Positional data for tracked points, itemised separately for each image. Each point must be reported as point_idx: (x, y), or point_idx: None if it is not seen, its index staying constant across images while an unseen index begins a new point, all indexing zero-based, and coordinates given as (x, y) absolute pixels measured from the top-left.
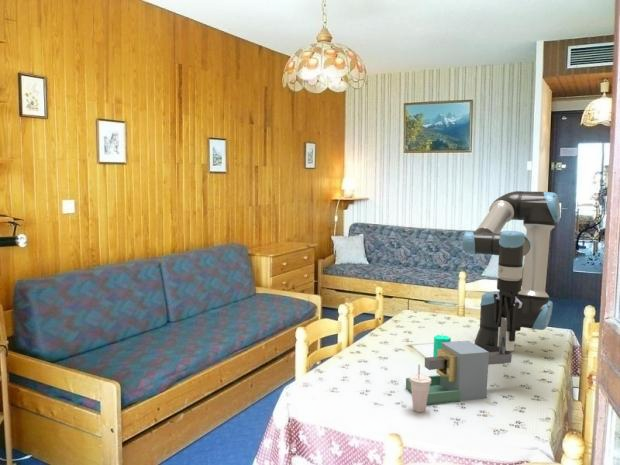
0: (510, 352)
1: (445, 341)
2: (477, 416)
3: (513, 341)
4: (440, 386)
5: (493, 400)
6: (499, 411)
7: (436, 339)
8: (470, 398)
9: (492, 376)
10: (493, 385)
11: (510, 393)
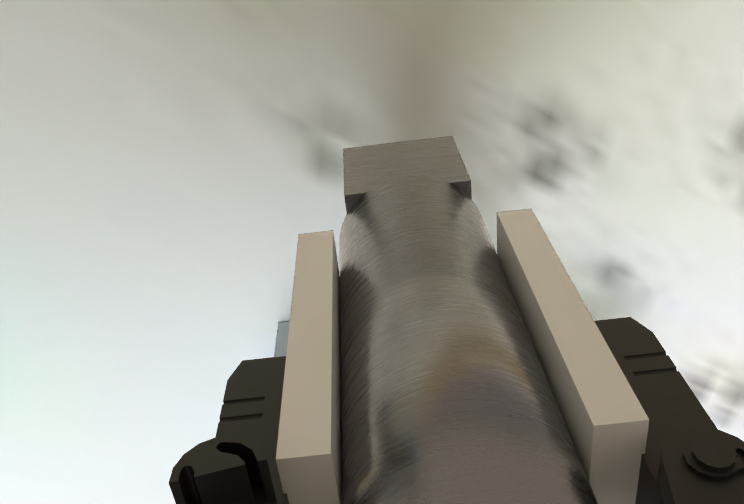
0: (477, 211)
1: None
2: (737, 428)
3: (569, 294)
4: None
5: (582, 270)
6: (734, 304)
7: None
8: None
9: (120, 62)
10: (328, 151)
11: (502, 96)
